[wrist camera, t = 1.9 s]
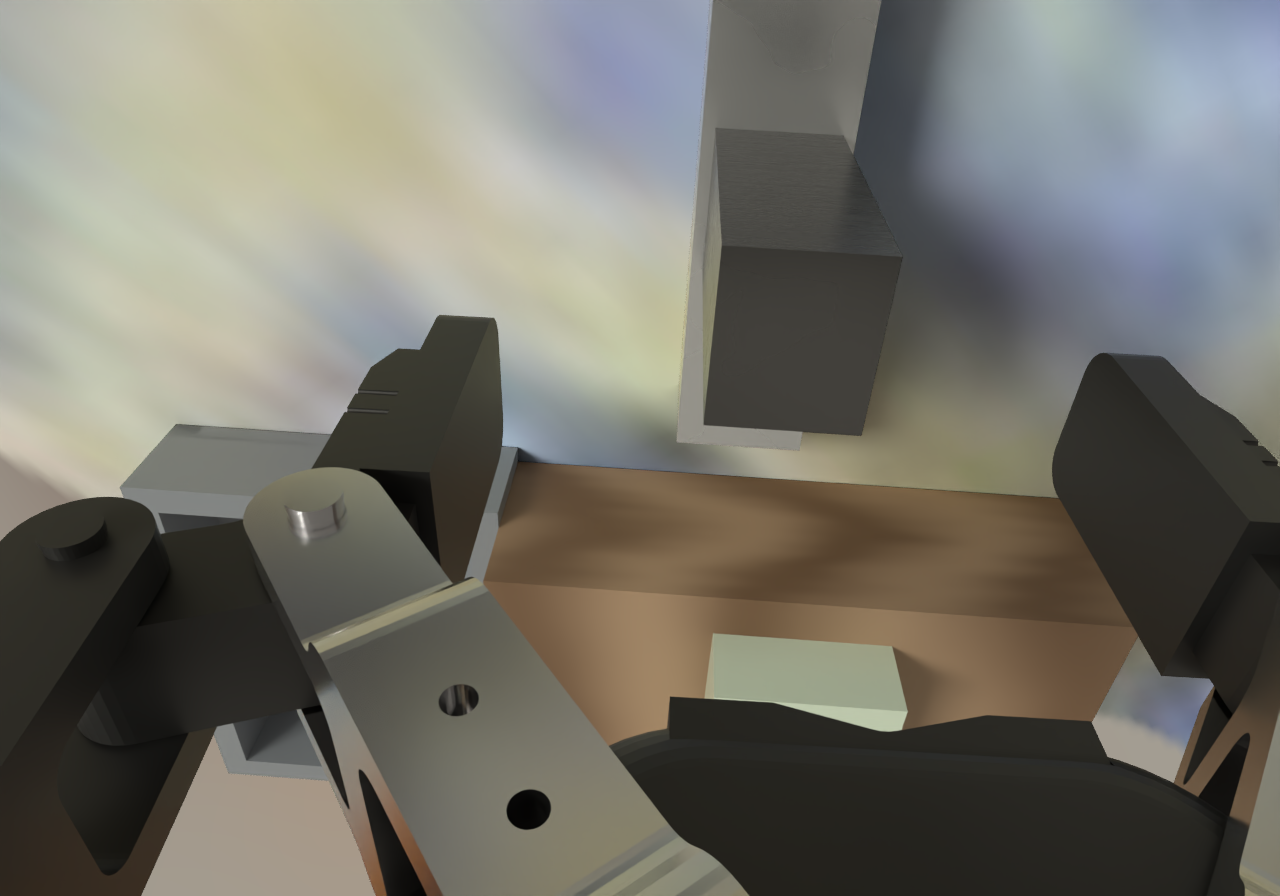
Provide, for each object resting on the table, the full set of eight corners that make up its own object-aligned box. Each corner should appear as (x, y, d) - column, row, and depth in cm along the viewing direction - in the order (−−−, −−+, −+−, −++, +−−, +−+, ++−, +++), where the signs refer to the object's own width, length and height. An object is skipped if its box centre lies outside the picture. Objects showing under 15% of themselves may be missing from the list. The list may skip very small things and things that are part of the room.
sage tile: (891, 646, 22) (907, 711, 20) (858, 756, 24) (869, 822, 23) (713, 633, 22) (713, 697, 20) (698, 744, 25) (698, 809, 23)
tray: (517, 447, 25) (497, 513, 23) (530, 722, 32) (516, 795, 30) (176, 424, 25) (120, 487, 23) (263, 702, 33) (228, 773, 30)
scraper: (877, -147, 17) (1015, -134, 9) (788, 387, 24) (829, 634, 16) (722, -155, 17) (739, -148, 9) (679, 379, 24) (669, 623, 16)
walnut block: (1069, 499, 25) (1142, 628, 21) (963, 754, 32) (1001, 889, 28) (518, 461, 25) (483, 581, 21) (530, 722, 32) (505, 850, 28)
